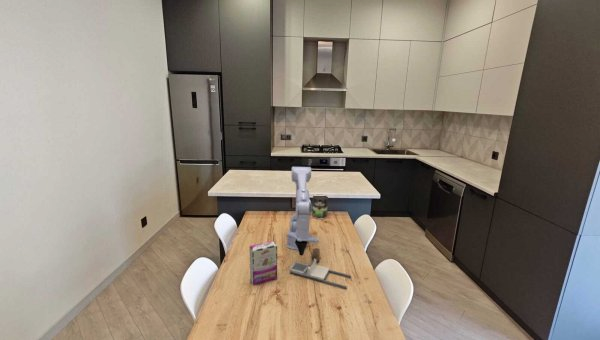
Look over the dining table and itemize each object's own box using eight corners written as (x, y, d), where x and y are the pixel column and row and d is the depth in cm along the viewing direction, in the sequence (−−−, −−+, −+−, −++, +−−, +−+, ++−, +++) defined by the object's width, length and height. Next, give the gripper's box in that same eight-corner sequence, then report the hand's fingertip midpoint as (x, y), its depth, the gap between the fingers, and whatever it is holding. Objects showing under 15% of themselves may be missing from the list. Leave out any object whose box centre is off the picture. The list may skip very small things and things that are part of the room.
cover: (307, 275, 125) (307, 267, 124) (313, 265, 133) (314, 257, 132) (323, 280, 122) (324, 271, 121) (329, 269, 130) (329, 261, 129)
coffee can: (326, 220, 188) (327, 200, 184) (311, 218, 189) (312, 198, 186) (327, 214, 198) (328, 195, 194) (312, 212, 199) (313, 193, 196)
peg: (310, 262, 138) (311, 251, 137) (313, 258, 141) (313, 247, 140) (317, 263, 137) (318, 252, 135) (320, 260, 140) (320, 249, 138)
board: (288, 273, 128) (289, 269, 128) (296, 263, 136) (296, 259, 136) (346, 289, 119) (346, 285, 118) (350, 277, 127) (351, 273, 126)
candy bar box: (273, 273, 128) (273, 240, 124) (277, 279, 124) (278, 245, 120) (249, 279, 123) (249, 245, 119) (253, 285, 119) (252, 250, 115)
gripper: (284, 227, 124) (283, 254, 128) (315, 234, 119) (313, 262, 123) (290, 221, 131) (289, 247, 134) (320, 227, 126) (318, 254, 129)
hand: (301, 254), depth 129 cm, fingers closed
